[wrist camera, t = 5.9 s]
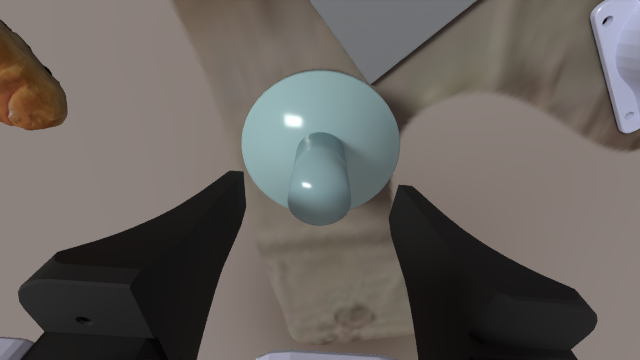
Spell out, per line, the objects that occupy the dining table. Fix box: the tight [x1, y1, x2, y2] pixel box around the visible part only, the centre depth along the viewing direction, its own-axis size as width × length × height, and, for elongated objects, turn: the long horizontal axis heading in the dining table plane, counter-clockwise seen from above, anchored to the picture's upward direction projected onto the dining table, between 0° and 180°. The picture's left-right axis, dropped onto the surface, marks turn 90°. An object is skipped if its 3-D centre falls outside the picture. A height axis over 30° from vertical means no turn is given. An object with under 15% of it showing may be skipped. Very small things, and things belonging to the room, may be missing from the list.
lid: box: [242, 69, 400, 226], centre depth 14 cm, size 9×9×5 cm
